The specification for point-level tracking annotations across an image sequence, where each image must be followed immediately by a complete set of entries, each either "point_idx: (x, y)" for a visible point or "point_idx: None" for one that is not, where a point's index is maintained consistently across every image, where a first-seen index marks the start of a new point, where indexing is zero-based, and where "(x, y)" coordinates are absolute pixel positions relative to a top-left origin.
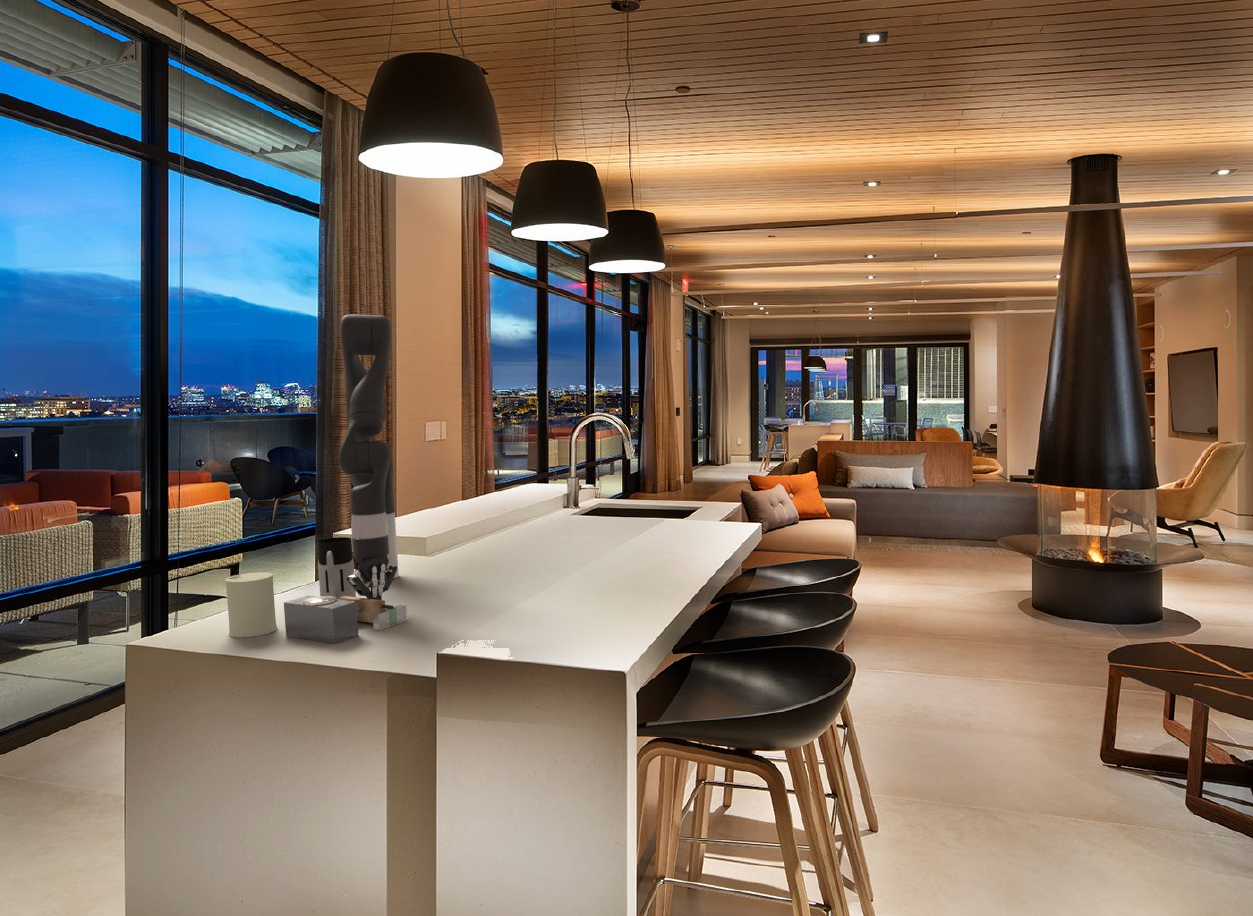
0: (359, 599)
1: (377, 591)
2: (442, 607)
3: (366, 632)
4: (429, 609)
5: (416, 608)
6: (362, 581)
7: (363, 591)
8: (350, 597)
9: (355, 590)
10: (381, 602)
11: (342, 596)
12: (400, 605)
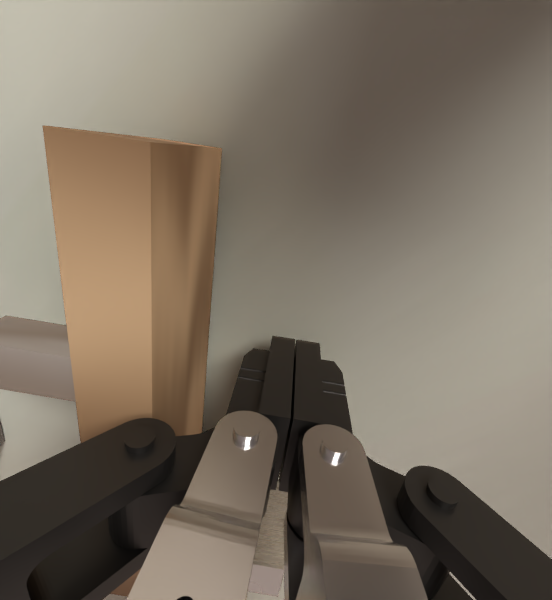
0: (97, 432)
1: (285, 533)
2: (542, 548)
3: (59, 444)
4: (501, 514)
5: (528, 452)
6: (137, 596)
7: (49, 560)
8: (116, 298)
9: (27, 471)
10: (121, 588)
11: (109, 149)
12: (264, 576)
